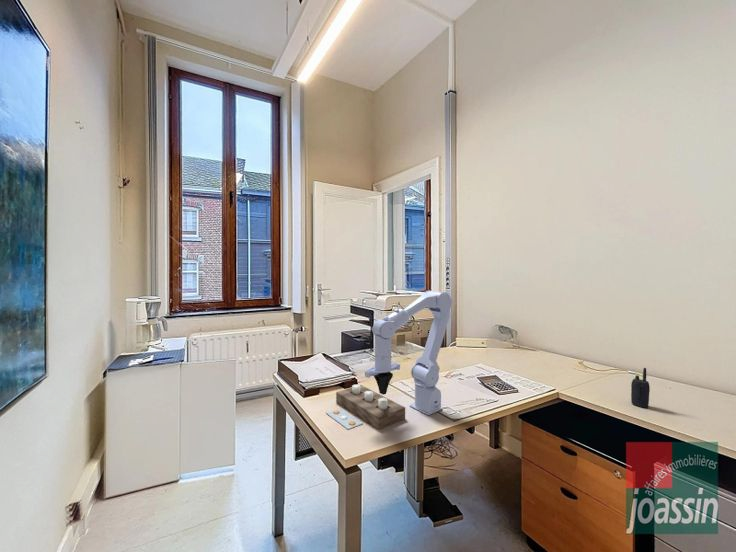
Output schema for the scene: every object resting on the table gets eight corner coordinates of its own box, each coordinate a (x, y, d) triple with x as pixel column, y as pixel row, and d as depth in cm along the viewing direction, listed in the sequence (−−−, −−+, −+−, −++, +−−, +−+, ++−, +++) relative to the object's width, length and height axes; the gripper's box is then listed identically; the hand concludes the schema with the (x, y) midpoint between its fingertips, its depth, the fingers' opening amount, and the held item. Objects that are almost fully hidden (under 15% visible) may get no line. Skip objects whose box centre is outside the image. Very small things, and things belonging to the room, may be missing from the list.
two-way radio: (650, 407, 121) (652, 368, 120) (645, 410, 118) (646, 370, 118) (632, 402, 125) (634, 364, 125) (627, 404, 123) (628, 366, 123)
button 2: (389, 411, 112) (389, 400, 111) (382, 414, 110) (382, 402, 109) (383, 408, 114) (383, 397, 114) (376, 410, 112) (376, 399, 112)
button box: (405, 418, 112) (405, 407, 111) (378, 429, 104) (378, 417, 104) (361, 394, 132) (361, 384, 132) (336, 402, 125) (336, 392, 125)
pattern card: (362, 424, 108) (362, 422, 108) (348, 429, 104) (348, 428, 104) (340, 409, 119) (340, 407, 119) (326, 413, 115) (326, 412, 115)
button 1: (362, 396, 124) (362, 386, 124) (355, 398, 122) (355, 388, 122) (357, 393, 127) (357, 383, 127) (350, 395, 125) (350, 385, 125)
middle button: (374, 403, 118) (374, 392, 118) (368, 406, 116) (368, 395, 116) (369, 400, 120) (369, 390, 120) (362, 402, 118) (362, 392, 118)
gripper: (391, 349, 119) (390, 385, 119) (359, 355, 110) (359, 394, 110) (404, 353, 113) (404, 391, 114) (372, 360, 104) (372, 401, 105)
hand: (382, 393), depth 112 cm, fingers closed
